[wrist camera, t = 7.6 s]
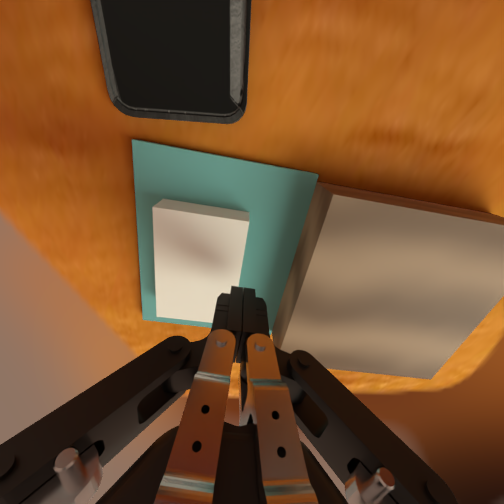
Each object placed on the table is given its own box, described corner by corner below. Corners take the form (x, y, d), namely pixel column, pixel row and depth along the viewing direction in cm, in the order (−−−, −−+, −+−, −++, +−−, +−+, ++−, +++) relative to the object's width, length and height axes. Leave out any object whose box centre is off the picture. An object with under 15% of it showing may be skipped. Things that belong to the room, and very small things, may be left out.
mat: (136, 139, 14) (131, 139, 14) (316, 173, 15) (318, 174, 15) (145, 314, 21) (142, 319, 21) (270, 329, 22) (270, 334, 22)
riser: (314, 180, 16) (333, 194, 12) (492, 213, 17) (556, 234, 13) (271, 326, 22) (275, 363, 18) (403, 342, 23) (430, 379, 20)
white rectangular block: (249, 221, 14) (249, 212, 16) (152, 206, 14) (163, 198, 16) (231, 325, 18) (233, 308, 20) (156, 316, 18) (164, 300, 20)
